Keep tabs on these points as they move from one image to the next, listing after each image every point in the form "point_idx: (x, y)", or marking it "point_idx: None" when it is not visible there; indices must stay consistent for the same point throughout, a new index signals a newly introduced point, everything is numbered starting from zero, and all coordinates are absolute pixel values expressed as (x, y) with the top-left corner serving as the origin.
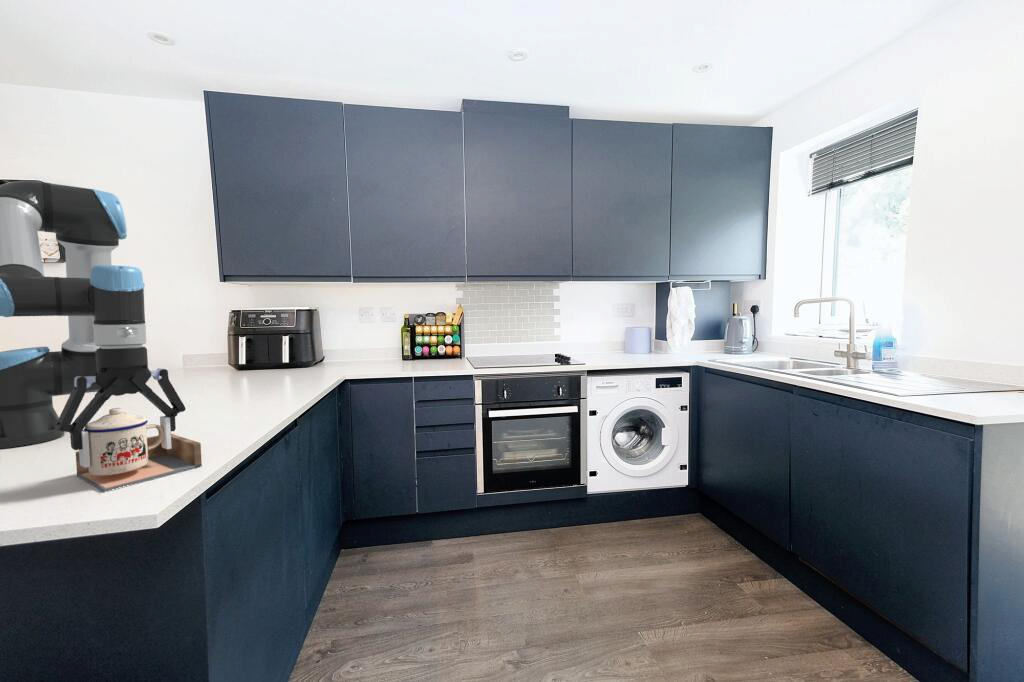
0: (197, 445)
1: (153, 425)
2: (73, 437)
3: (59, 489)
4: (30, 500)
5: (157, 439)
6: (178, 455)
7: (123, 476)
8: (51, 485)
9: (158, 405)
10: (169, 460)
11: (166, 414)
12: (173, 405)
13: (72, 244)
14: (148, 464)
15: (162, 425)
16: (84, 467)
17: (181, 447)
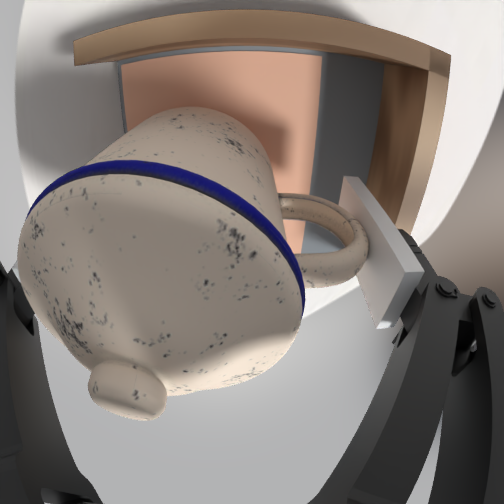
0: None
1: (328, 286)
2: None
3: (78, 139)
4: (44, 179)
5: (336, 207)
6: (377, 159)
7: None
8: (68, 83)
9: (369, 407)
10: (351, 143)
11: (412, 312)
12: (476, 330)
13: None
14: (293, 130)
15: (375, 260)
16: None
17: (385, 201)
